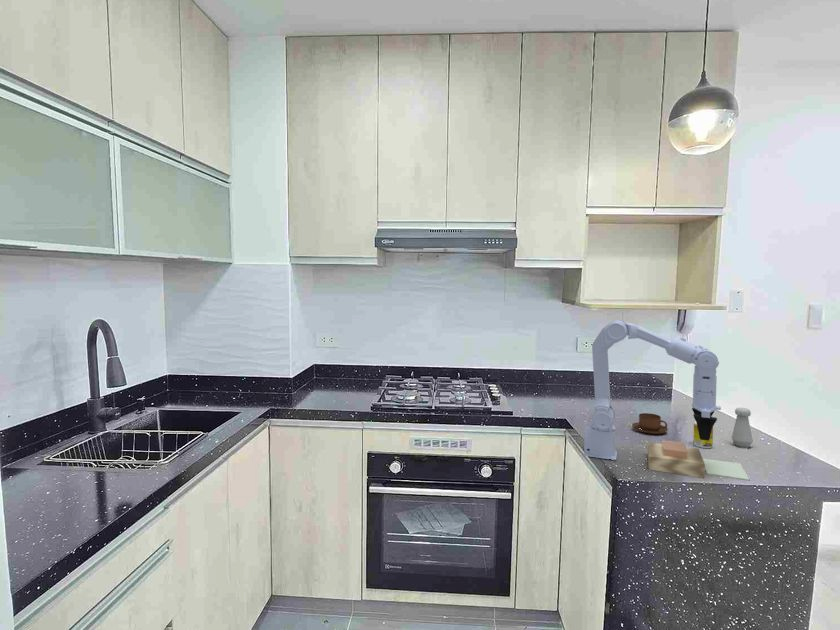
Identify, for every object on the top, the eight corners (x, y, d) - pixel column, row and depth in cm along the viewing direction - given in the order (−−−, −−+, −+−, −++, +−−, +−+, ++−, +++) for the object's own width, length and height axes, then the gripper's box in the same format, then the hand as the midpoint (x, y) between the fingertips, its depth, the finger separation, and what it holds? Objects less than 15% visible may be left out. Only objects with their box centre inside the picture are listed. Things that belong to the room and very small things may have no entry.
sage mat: (706, 474, 126) (706, 473, 126) (701, 459, 138) (701, 458, 138) (749, 480, 122) (749, 479, 122) (740, 464, 133) (740, 463, 133)
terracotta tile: (663, 455, 130) (663, 449, 130) (662, 446, 138) (662, 440, 138) (687, 458, 127) (687, 452, 127) (684, 449, 135) (684, 442, 135)
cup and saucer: (667, 429, 169) (668, 414, 169) (667, 438, 159) (667, 421, 158) (633, 425, 175) (633, 410, 175) (630, 433, 165) (630, 417, 165)
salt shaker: (748, 450, 146) (749, 411, 145) (728, 445, 150) (729, 408, 150) (755, 446, 149) (756, 408, 149) (735, 442, 154) (736, 405, 153)
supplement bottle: (705, 449, 146) (706, 419, 146) (689, 444, 151) (690, 415, 151) (716, 447, 148) (717, 417, 148) (700, 442, 154) (700, 413, 153)
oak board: (648, 469, 130) (648, 456, 130) (647, 454, 142) (648, 442, 142) (704, 478, 124) (704, 464, 123) (698, 461, 136) (698, 448, 136)
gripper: (723, 397, 120) (722, 445, 121) (718, 387, 133) (717, 431, 134) (693, 394, 124) (692, 441, 124) (691, 385, 136) (690, 428, 137)
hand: (703, 436), depth 129 cm, fingers open, 7 cm apart
